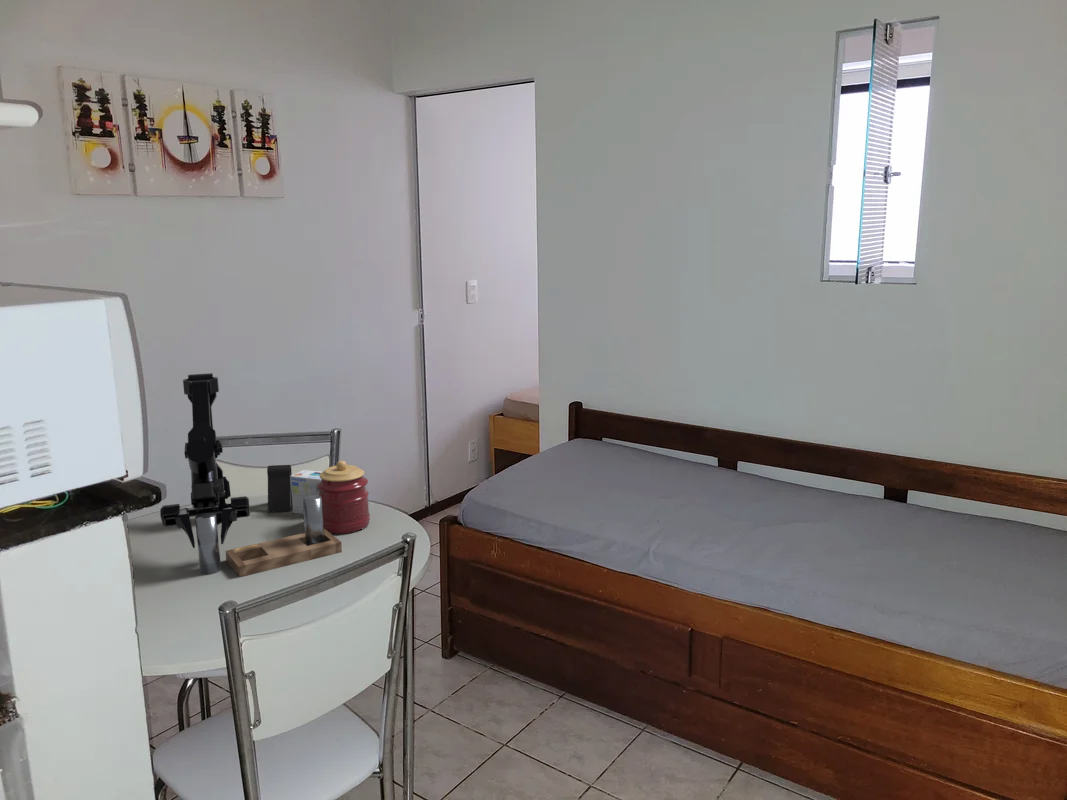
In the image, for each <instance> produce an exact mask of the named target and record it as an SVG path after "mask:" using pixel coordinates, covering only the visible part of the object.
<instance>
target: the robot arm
mask: <svg viewBox="0 0 1067 800" xmlns="http://www.w3.org/2000/svg"><path fill="white" fill-rule="evenodd" d="M182 387H183V394H184V395H185V396H186V395H187V399H188V401H190V403H191V407H192V409H191V410H192V411H191V413H192V428H191V429H190V430H189V431H188V432H187V442H185V443H184V452H183V453H184V457H185V458H184V459H187V461H188V467H189V470H190V476H191V477H190V478H191V486H190V487H191V492H190V503H191V504H190V505H191V506H192V507H189V508H188V507H181V506H180V503H175V504H166V505H165V504H164V505H162V507H160V510H159V511H160V513H159V515H160V520H161V523H162V526H163V527H165V528H166V527H174V526H176V527H177V528H178V529H182V530H183V531H184V533H185V535H186V536H187V537H188V540H189V542H190V543H191V547H192V548H193V549H195V548H196V541H195V537H194V531H193V527H192V523H191V517H196V516H197V515H199V514H203V513H215V514H216V519H217V525H219V524H221V527H220V528H221V529H220V544H221V545H224V543H225V540H226V538H227V537H226V536H227V534H228V532H229V530H230V528H231V525H232V524H233V522H234V523H235V522H237V521H238V519H239V518H248V517H250V516H251V511H250V510H251V509H250V498H249V497H248V496H245V495H244V496H238V497H231V496H232V495H231V494H232V493H231V487H230V481H229V480H228V479H227V476H224V470H223V469H222V468H221V466H220V465H219V463H218V462H217V459H218V456H221V453H222V454H223V450H224V449H223V448H224V447H223V446H224V445H223V443H221V441H220V439H217V434H216V430H215V429H214V424H213V423H214V422H213V421H214V420H213V411H212V406H213V404H214V403H215V401H216V399H217V393H219V391H220V388H219V377H218V376H214V374H213V372H211V373H196V374H195V373H194V374H188V375H187V378H184V379H182ZM229 498H230V503H227V502H226V500H227V499H229Z"/></svg>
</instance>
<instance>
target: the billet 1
mask: <svg viewBox="0 0 1067 800" xmlns="http://www.w3.org/2000/svg"><path fill="white" fill-rule="evenodd" d="M194 521H195V530H196V532H195V533H196V540H197V550H198V551H197V552H198V553H197V554H198V562H199V571H200V574H201V575H214V574H216V573H219V572H221V570H222V565H221V564H222V563H221V554H220V553H221V552H220V542H219V533H218V524H217V519H216V514H215V513H203V514H199V515H197V516H194Z"/></svg>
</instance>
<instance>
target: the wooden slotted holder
mask: <svg viewBox="0 0 1067 800" xmlns="http://www.w3.org/2000/svg"><path fill="white" fill-rule="evenodd" d="M342 551H343V549H342V541H341V540H339V539H338V538H337V537H336V536H334V535H333V533H329V532H328V531H327V530H326V529H324V542H322V543H318V544H314V545H309V546H307V545H306V542H305V532H303V533H299V534H294V535H289V536H285V537H284V536H283V537H281V538H277V539H272V540H267V541H263V542H258V543H253V544H250V545H246V546H241V547H237V548H232V549H228V550H225V561H226V563H228V565H229V566H230V567H231V568H232V570H233V571H234V572H235V573H236V575H238V577H239V578H241V577H246V576H249V575H253V574H258V573H261V572H266V571H269V570H274V569H278V568H282V567H286V566H291V565H294V564H298V563H304V562H306V561H310V560H311V561H312V560H315V559H318V558H319V559H320V558H322V557H326V556H331V555H335V554H338V553H342Z"/></svg>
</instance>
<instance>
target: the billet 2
mask: <svg viewBox="0 0 1067 800" xmlns="http://www.w3.org/2000/svg"><path fill="white" fill-rule="evenodd" d="M303 513H304V514H303V525H304V533H305V542H306V545H307V546H309V545H314V544H318V543H322V542H324V527H323V512H322V497H321V496H319V495H309V496H306V497H304V498H303Z"/></svg>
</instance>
